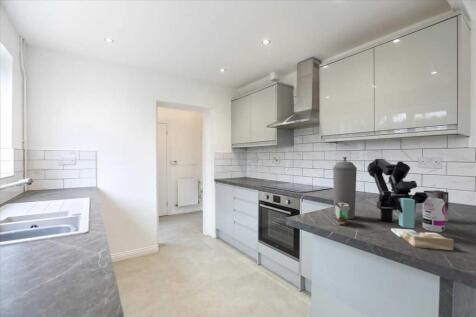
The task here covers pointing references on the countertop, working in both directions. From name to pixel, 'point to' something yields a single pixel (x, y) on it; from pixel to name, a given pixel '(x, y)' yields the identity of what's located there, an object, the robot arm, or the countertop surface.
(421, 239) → the oak rack
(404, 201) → the teal rectangular block
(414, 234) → the white pad
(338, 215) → the food container
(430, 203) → the supplement can
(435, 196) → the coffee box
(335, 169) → the canister
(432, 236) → the offcut top
